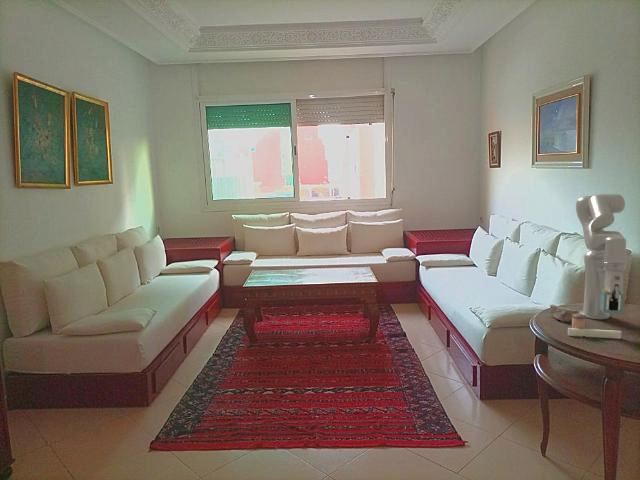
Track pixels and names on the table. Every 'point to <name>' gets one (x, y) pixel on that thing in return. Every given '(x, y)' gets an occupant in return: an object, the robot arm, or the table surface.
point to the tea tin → (606, 299)
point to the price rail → (594, 333)
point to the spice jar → (578, 321)
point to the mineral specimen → (562, 313)
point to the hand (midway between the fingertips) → (611, 307)
